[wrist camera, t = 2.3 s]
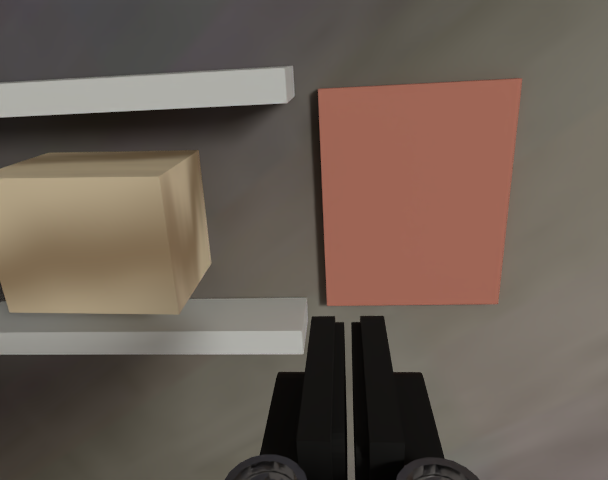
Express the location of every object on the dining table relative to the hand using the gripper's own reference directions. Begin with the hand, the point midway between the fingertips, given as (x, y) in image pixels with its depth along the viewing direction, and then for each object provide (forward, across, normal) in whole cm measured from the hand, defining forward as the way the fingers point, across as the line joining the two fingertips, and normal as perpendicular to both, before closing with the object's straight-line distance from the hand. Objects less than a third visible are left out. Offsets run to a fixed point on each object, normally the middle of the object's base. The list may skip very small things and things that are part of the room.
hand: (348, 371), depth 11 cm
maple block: (+11, +10, -1) cm, 15 cm away
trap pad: (+11, -3, -1) cm, 12 cm away
